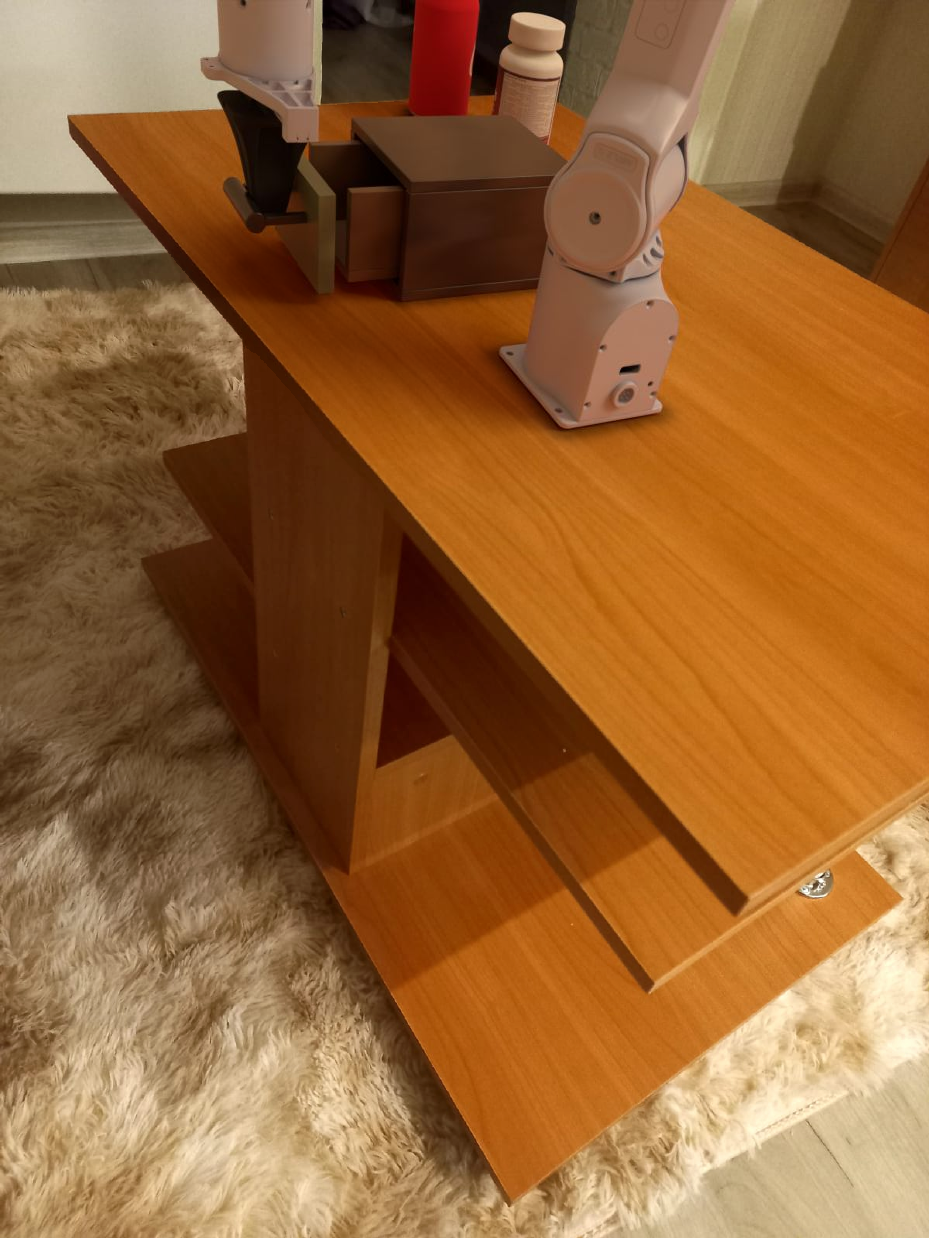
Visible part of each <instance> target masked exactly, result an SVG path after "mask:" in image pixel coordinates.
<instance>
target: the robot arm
mask: <svg viewBox="0 0 929 1238" xmlns="http://www.w3.org/2000/svg"><path fill="white" fill-rule="evenodd" d="M736 1H737V0H633V3H632V5H631V9H630V12H629V15H628V18H627V21H626V24H625V28H624V31H623V33H622V37H621V40H620V44H619V47H618V50H617V53H616V56H615V59H614V63H613V66H612V69H611V72H610V74H609V75H608V78H607V80H606V82H605V84H604V86H603V88H602V90H601V92H600V94H599V96H598V98H597V100H596V101H595V103H594V105H593V106H592V110H591V111H590V113H589V115H588V117H587V119H586V121H585V124H584V127H583V130H582V133H581V136H580V139H579V142H578V145H577V147H576V149H575V150H574V153H573V154H572V156H571V157H570V159H569V160H567V161H568V162H567V163H566V164H565V165H564V166H563V167H562V169H561V170H560V171H559V172H558V173H557V174H556V175H555V177H554V178H553V180H552V181H551V184H550V186H549V188H548V190H547V194H546V197H545V203H544V222H545V228H546V231H547V234H548V239H547V243H546V248H545V253H544V258H543V263H542V268H541V273H540V278H539V283H538V288H536V294H535V298H534V303H533V309H532V313H531V319H530V323H529V328H528V333H527V338H526V343H519V344H511V345H510V344H509V345H504V346H501V347H500V348H499V350H498V355H499V356H500V358H501V359H502V360H503V361H504V362H505V363H506V365H507V366H508V367H509V368H510V370H511V371H512V372H513V373H514V374H515V375H516V377H517V378H518V379H519V380H520V381H521V383H522V384H523V385H524V386H525V387H526V389H528V391H529V392H530V393H531V394H532V396H533V397H534V398H535V399H536V400H537V402H539V404H540V405H541V407H543V409H544V410H545V411H546V412H547V413H548V414H549V416H550V417H551V419H553V420H554V422H555V423H556V424H557V425H558V426H559V428H562V429H574V428H580V427H585V426H590V425H596V424H602V423H607V422H613V421H619V420H625V419H630V418H631V419H632V418H637V417H642V416H648V415H653V414H659V413H661V412H662V410H663V404H662V402H661V401H660V400H659V399H658V398H657V396H658V393H659V390H660V388H661V385H662V382H663V378H664V376H665V373H666V370H667V367H668V364H669V361H670V358H671V355H672V352H673V349H674V346H675V343H676V341H677V337H678V333H679V328H680V327H679V326H680V319H679V315H678V310H677V308H676V307H675V305H674V303H673V302H672V301H671V299H670V298H669V296H668V294H667V292H666V291H665V288H664V283H663V281H662V264H663V260H664V257H665V250H664V249H663V239H662V234H661V230H660V227H659V225H660V224H661V222H662V221H663V220H664V218H665V217H666V216H667V215H668V214H670V213H671V212H672V211H673V209H674V208H675V207H676V206H677V205H678V204H679V202H680V200H681V199H682V197H683V196H684V194H685V191H686V189H687V185H688V183H689V179H690V178H689V177H690V155H689V148H690V147H689V146H690V145H689V144H690V139H691V134H692V131H693V129H694V126H695V123H696V121H697V118H698V116H699V113H700V108H701V107H700V106H701V97H702V90H703V86H704V83H705V81H706V78H707V76H708V73H709V70H710V68H711V65H712V64H713V61H714V57H715V55H716V52H717V50H718V47H719V45H720V42H721V39H722V37H723V34H724V32H725V30H726V27H727V24H728V21H729V19H730V16H731V13H732V11H733V9H734V6H735V3H736ZM216 8H217V28H218V29H217V30H218V53H217V56H205V57H201V58H200V60H199V61H200V63H199V64H200V72H201V73H202V75H203V76H204V77H205V78H206V79H207V80H210V81H217V82H219V81H220V82H225V83H226V84H228V85H229V86H231V87H232V88H234V89H224V90H220V91H218V92H217V93H216V98H217V100H218V102H219V104H220V107H221V109H222V110H223V112H224V115H225V117H226V119H227V121H228V124H229V127H230V129H231V132H232V135H233V138H234V141H235V144H236V147H237V152H238V155H239V160H240V164H241V167H242V173H243V177H244V183H246V187H247V192H248V193H249V195H250V196H251V198H252V199H253V201H254V202H255V203H256V205H257V206H258V208H259V209H260V211H261V212H262V214H266V213H283V212H286V210H287V207H288V203H289V200H290V195H291V191H292V187H293V182H294V178H295V174H296V171H297V167H298V164H299V161H300V159H301V156H302V154H303V155H304V151H305V149H306V147H307V145H308V144H309V142H318V141H319V124H320V123H319V121H320V108H319V106H318V105H317V104H316V102H315V95H316V92H315V91H316V80H317V79H316V78H317V77H316V75H317V72H316V68H315V66H314V65H313V63H314V18H315V11H314V10H315V0H216Z"/></svg>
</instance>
